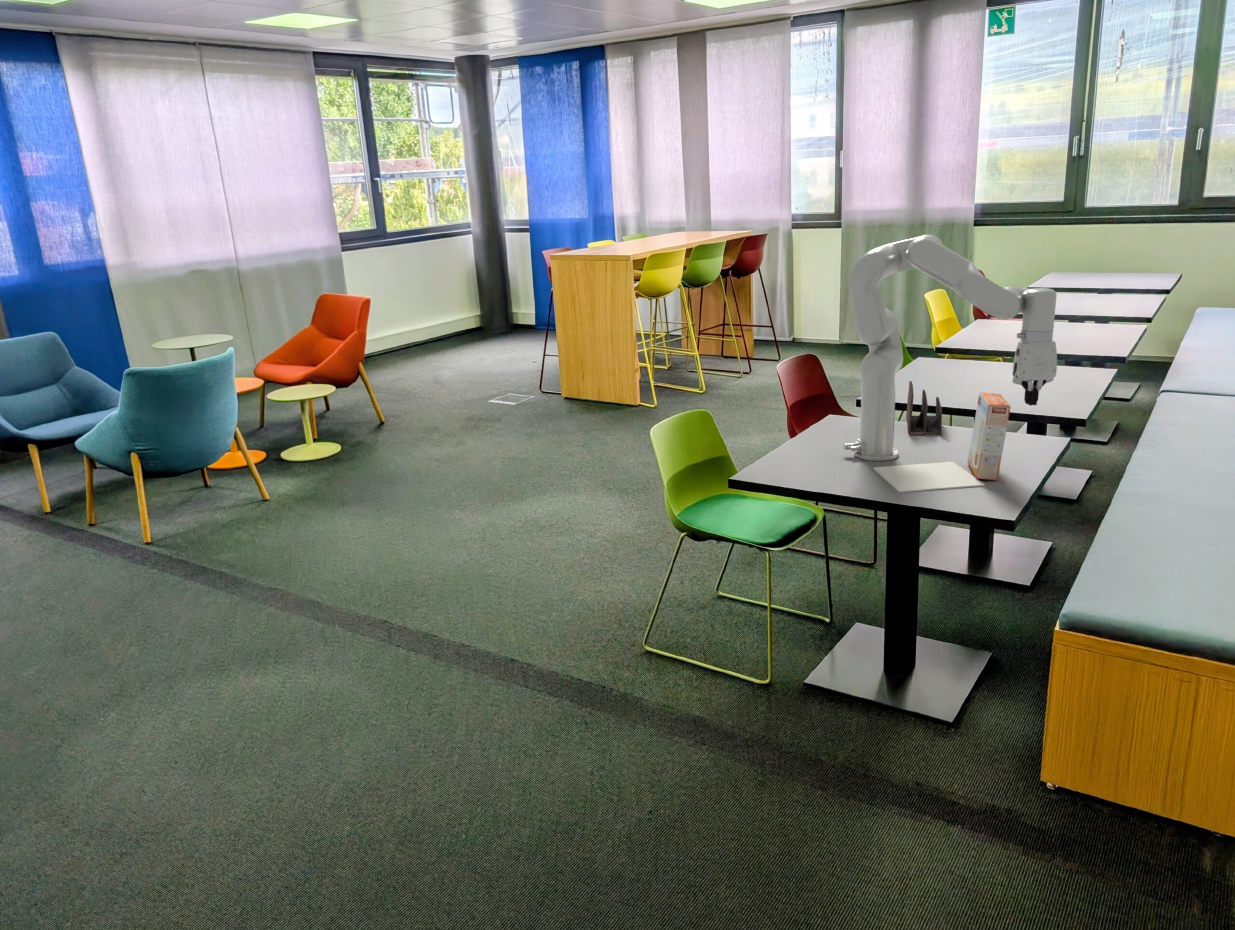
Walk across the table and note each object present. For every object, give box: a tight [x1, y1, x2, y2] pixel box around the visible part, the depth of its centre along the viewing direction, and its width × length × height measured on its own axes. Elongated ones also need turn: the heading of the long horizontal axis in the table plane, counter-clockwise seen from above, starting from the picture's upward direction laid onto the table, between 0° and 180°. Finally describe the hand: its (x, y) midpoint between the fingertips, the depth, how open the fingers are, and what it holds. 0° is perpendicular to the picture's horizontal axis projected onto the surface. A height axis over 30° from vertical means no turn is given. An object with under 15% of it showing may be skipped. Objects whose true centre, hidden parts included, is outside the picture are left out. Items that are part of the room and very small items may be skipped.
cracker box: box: [967, 392, 1012, 482], centre depth 246 cm, size 14×6×21 cm, turn 168°
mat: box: [873, 461, 986, 493], centre depth 249 cm, size 23×20×1 cm
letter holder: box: [905, 380, 943, 436], centre depth 292 cm, size 10×20×14 cm, turn 165°
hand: (1030, 404), depth 244 cm, fingers closed
